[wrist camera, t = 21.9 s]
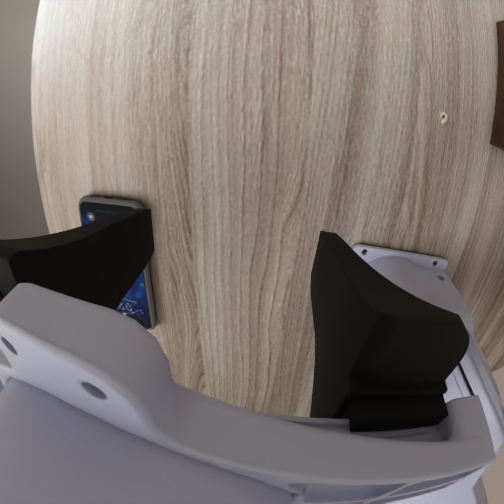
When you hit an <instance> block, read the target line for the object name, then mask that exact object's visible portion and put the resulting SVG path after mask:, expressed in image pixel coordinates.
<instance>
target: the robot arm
mask: <svg viewBox="0 0 504 504" xmlns="http://www.w3.org/2000/svg"><path fill="white" fill-rule="evenodd" d="M365 249H366V250H367V251H366V252H365V253H362V251H363V250H365ZM153 252H154V241H153V230H152V218H151V209H142V208H137V209H131V210H128V211H124V212H121V213H118V214H115V215H112V216H110V217H107V218H104V219H101V220H98V221H95V222H92V223H90V224H87V225H84V226H81V227H78V228H74V229H71V230H67V231H63V232H59V233H54V234H49V235H44V236H39V237H33V238H24V239H13V240H12V239H10V240H0V504H488V500H487V496H486V492H485V488H484V484H483V481H482V477H481V475H482V474H483V472H484V471H485V469H486V468H487V466H488V465H489V464H490V463H491V462H493V461H494V460H495V458H496V453H497V452H498V450H499V449H500V447H501V445H502V444H503V442H504V408H503V405H502V399H501V396H500V393H499V390H498V387H497V384H496V382H495V379H494V377H493V375H492V372H491V370H490V368H489V366H488V364H487V361H486V359H485V357H484V355H483V353H482V351H481V350H480V348H479V346H478V344H477V342H476V341H475V339H474V337H473V334H474V328H473V319H472V315H471V312H470V310H469V308H468V307H467V305H466V303H465V302H464V300H463V298H462V297H461V295H460V294H459V292H458V290H457V289H456V287H455V286H454V284H453V283H452V281H451V280H450V278H449V277H448V275H447V274H446V272H445V270H446V267H447V265H448V262H447V260H446V259H445V258H441V257H435V256H429V255H424V254H418V253H412V252H406V251H400V250H394V249H388V248H382V247H376V246H370V245H364V244H356V245H355V246H353V248H351V247H350V246H349V245H348V244H347V243H346V242H345V241H344V240H343V239H342V238H341V237H340V236H338V235H337V234H336V233H331V232H325V231H320V236H319V241H318V245H317V250H316V254H315V259H314V263H313V268H312V272H311V301H312V311H313V320H314V330H315V367H314V382H313V393H312V403H311V412H310V417H297V416H286V415H277V414H269V413H261V412H254V411H250V410H247V409H244V408H241V407H238V406H235V405H232V404H229V403H226V402H224V401H221V400H218V399H215V398H213V397H210V396H207V395H205V394H202V393H200V392H197V391H195V390H192V389H190V388H187V387H185V386H182V385H180V384H177V383H175V382H174V380H173V378H172V374H171V370H170V365H169V361H168V359H167V357H166V355H165V354H164V352H163V350H162V348H161V347H160V345H159V343H158V341H157V339H156V338H155V337H154V336H153V335H152V334H151V333H149V332H148V331H147V330H146V329H145V328H144V327H143V326H141V325H140V324H139V323H138V322H137V321H136V320H134V319H132V318H130V317H128V316H126V315H123V314H121V313H119V312H117V311H116V309H117V308H118V306H119V304H120V303H121V301H122V300H123V298H124V297H125V295H126V294H127V293H128V291H129V290H130V288H131V287H132V286H133V284H134V283H135V282H136V280H137V279H138V277H139V276H140V275H141V273H142V272H143V270H144V269H145V267H146V266H147V264H148V262H149V260H150V258H151V256H152V254H153ZM434 261H436V262H435V263H434V264H433V262H434Z"/></svg>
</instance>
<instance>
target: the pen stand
mask: <svg viewBox="0 0 504 504" xmlns="http://www.w3.org/2000/svg"><path fill="white" fill-rule="evenodd" d="M497 36H498V83H497V97H496V107H495V115H494V123H493V130H492V136H491V141H490V144H492V145H494V146H496V147H498V148H500V149H502V150H504V21H499V22H497Z"/></svg>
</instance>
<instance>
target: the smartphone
mask: <svg viewBox="0 0 504 504" xmlns="http://www.w3.org/2000/svg"><path fill="white" fill-rule="evenodd" d="M78 207H79V214H80V221H81V226H84V225H87V224H90V223H92V222H95V221H98V220H101V219H104V218H107V217H110V216H112V215H115V214H118V213H121V212H124V211H128V210H131V209H137V208H142V209H144V208H143V206H142V205H141V204H140V203H139V202H138V201H135V200H128V199H119V198H112V197H99V196H84V197H82V198H81V199H80V201H79V205H78ZM116 311H117V312H119V313H121V314H123V315H126V316H128V317H130V318H132V319H134V320H136V321H137V322H138V323H139V324H140V325H141V326H143V327H144V328H145V329H148V330H151V329H154V328H155V326H156V314H155V307H154V302H153V292H152V289H151V280H150V271H149V262H148V264H147V266H146V267H145V269H144V270H143V272H142V273H141V275H140V276H139V277H138V279H137V280H136V282H135V283H134V284H133V286H132V287H131V288H130V290H129V291H128V293H127V294H126V295H125V297H124V298H123V300H122V301H121V303H120V304H119V306H118V308H117V309H116Z"/></svg>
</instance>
